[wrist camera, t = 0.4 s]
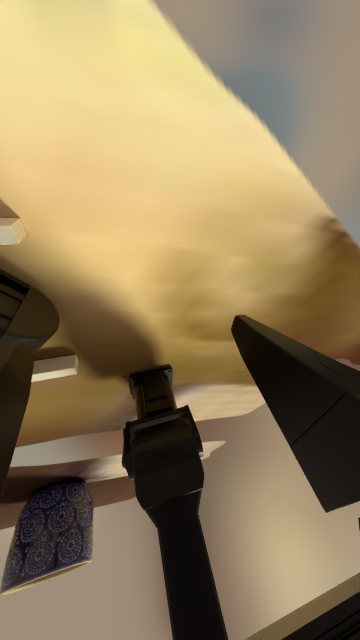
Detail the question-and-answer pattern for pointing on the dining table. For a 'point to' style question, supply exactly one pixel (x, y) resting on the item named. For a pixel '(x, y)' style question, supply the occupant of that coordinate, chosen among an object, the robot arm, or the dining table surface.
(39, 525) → the planter
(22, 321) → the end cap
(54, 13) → the dining table surface
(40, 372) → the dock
